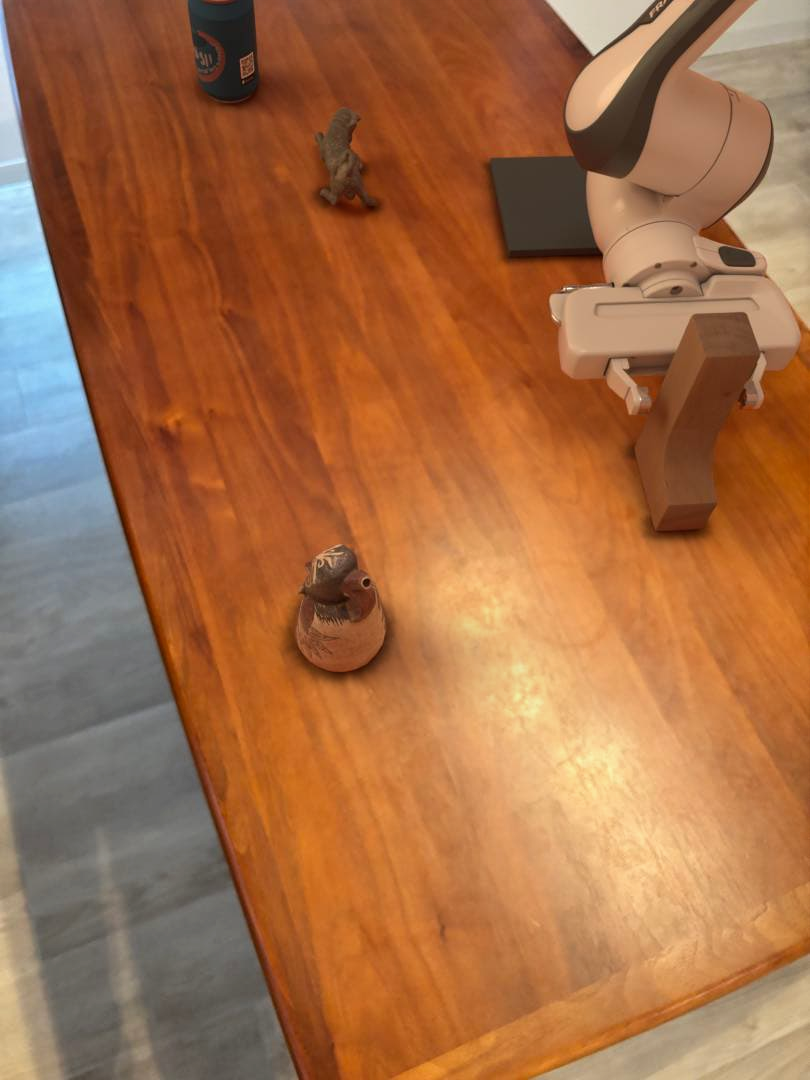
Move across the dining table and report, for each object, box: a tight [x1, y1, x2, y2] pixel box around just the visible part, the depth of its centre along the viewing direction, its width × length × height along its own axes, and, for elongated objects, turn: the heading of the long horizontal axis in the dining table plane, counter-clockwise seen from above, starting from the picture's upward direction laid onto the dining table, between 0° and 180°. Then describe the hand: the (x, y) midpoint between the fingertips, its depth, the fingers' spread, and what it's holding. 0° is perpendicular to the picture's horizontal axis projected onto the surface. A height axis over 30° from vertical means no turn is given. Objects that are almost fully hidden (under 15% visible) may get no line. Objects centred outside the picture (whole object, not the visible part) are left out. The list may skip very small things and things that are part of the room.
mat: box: [489, 155, 603, 258], centre depth 107 cm, size 14×14×1 cm
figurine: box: [294, 543, 387, 673], centre depth 76 cm, size 7×7×12 cm
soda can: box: [186, 0, 261, 104], centre depth 109 cm, size 7×7×12 cm
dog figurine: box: [314, 106, 378, 207], centre depth 105 cm, size 12×6×7 cm, turn 9°
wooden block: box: [633, 312, 760, 532], centre depth 82 cm, size 9×4×18 cm, turn 6°
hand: (697, 407), depth 82 cm, fingers open, 8 cm apart
